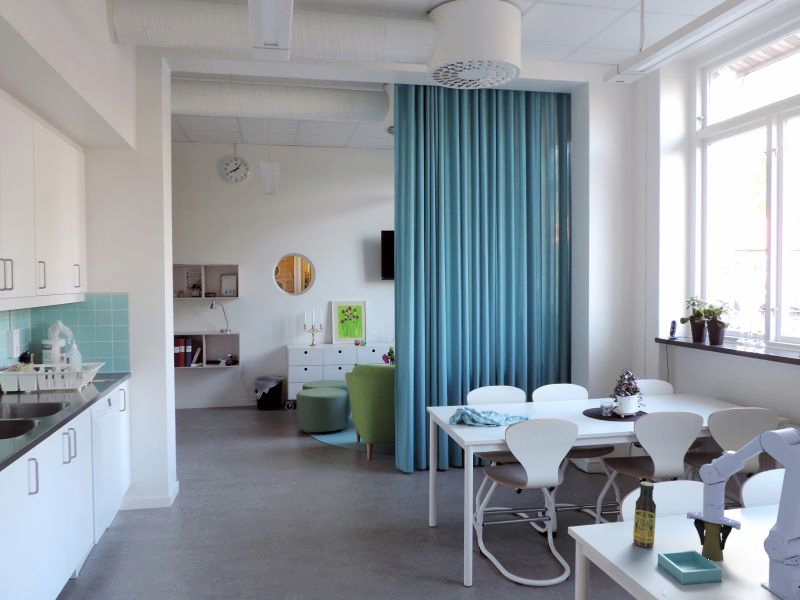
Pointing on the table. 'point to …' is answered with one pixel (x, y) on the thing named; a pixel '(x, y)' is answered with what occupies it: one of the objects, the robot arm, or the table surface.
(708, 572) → the teal bin
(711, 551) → the cork
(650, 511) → the sauce bottle
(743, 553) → the table surface
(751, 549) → the table surface
